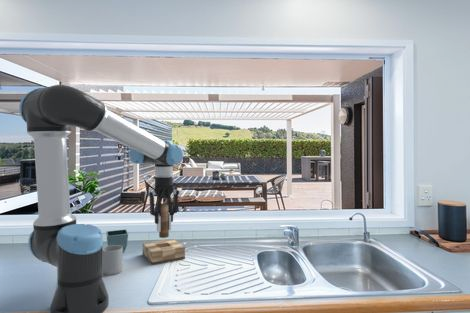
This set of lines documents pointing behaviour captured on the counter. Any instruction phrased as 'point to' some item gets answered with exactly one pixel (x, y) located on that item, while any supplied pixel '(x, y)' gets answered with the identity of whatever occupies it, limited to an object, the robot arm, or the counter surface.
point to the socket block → (163, 251)
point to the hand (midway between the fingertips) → (163, 230)
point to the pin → (164, 220)
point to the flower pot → (117, 238)
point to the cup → (112, 259)
